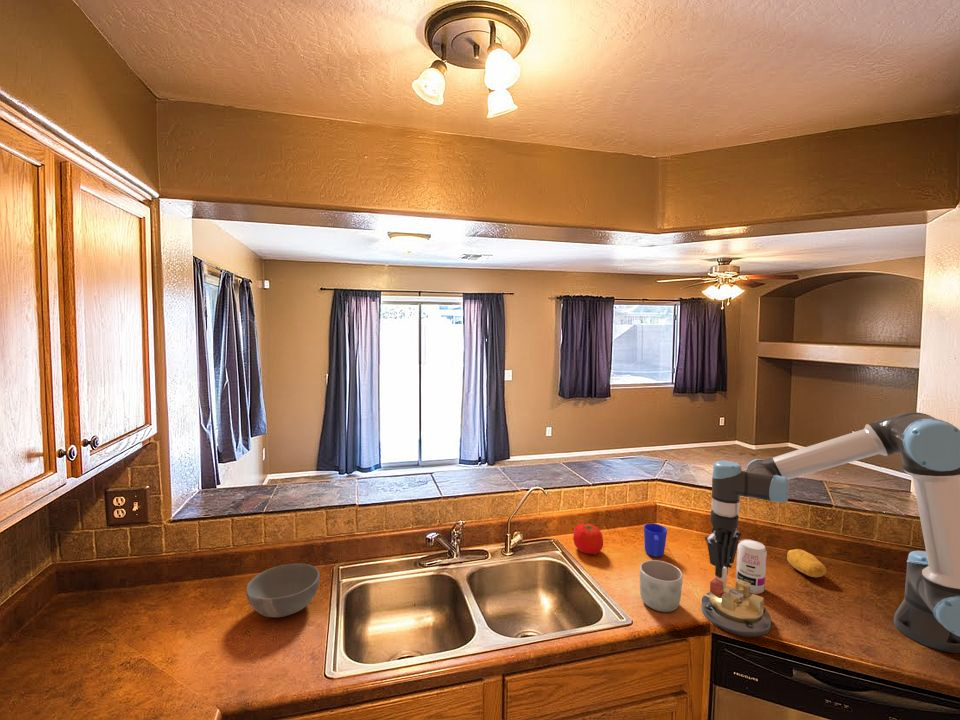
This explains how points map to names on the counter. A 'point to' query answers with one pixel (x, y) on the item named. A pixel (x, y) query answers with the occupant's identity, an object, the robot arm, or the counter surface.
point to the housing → (734, 626)
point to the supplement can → (752, 564)
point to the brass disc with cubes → (730, 607)
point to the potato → (806, 563)
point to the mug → (654, 539)
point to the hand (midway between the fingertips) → (720, 585)
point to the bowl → (283, 589)
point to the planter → (660, 585)
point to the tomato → (588, 538)
